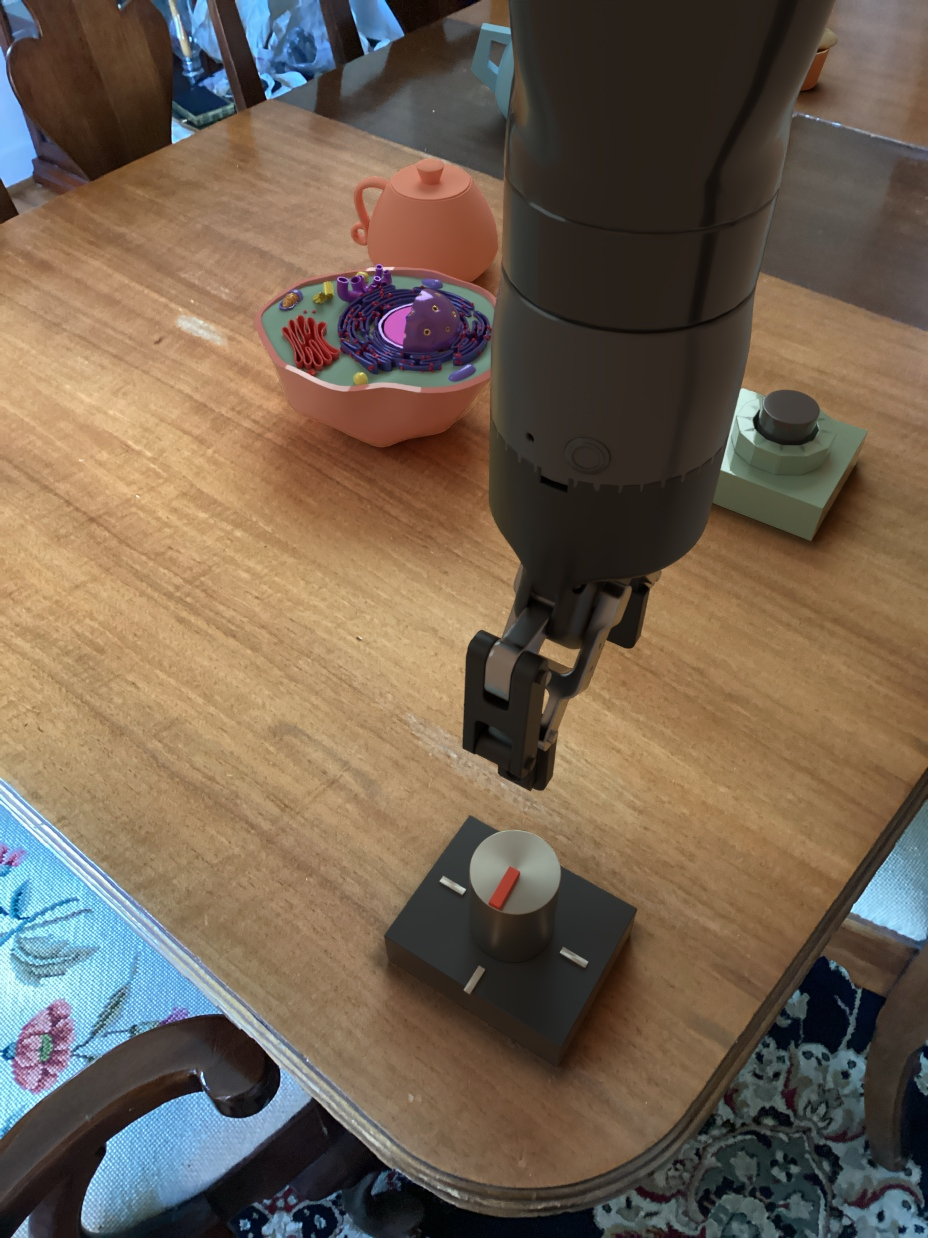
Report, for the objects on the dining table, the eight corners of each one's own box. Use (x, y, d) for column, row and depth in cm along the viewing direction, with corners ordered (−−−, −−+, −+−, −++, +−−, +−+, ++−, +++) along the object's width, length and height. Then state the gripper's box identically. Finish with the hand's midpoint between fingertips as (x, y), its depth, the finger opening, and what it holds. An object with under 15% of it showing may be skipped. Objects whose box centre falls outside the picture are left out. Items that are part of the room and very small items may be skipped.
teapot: (464, 150, 112) (463, 34, 103) (477, 89, 122) (477, -20, 113) (643, 157, 110) (659, 40, 101) (641, 95, 121) (654, -16, 112)
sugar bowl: (484, 311, 91) (485, 202, 83) (336, 295, 92) (323, 187, 85) (507, 243, 98) (510, 138, 91) (370, 230, 100) (362, 125, 93)
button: (820, 423, 72) (828, 400, 71) (801, 453, 70) (808, 430, 69) (768, 405, 74) (774, 382, 72) (747, 434, 72) (753, 411, 70)
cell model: (328, 332, 89) (312, 210, 80) (540, 383, 83) (548, 258, 75) (228, 446, 78) (198, 320, 70) (463, 512, 73) (462, 384, 65)
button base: (856, 463, 77) (875, 410, 73) (811, 541, 71) (830, 489, 67) (733, 420, 80) (746, 367, 76) (682, 491, 75) (693, 438, 71)
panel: (632, 929, 52) (640, 903, 50) (554, 1072, 48) (559, 1050, 45) (471, 838, 56) (471, 810, 54) (385, 962, 51) (380, 937, 49)
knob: (494, 868, 51) (496, 812, 47) (568, 906, 50) (577, 851, 46) (454, 937, 49) (452, 884, 45) (530, 978, 48) (535, 928, 43)
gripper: (602, 260, 36) (569, 568, 48) (381, 488, 28) (409, 788, 40) (803, 319, 34) (714, 629, 46) (623, 588, 26) (574, 875, 38)
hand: (571, 703), depth 43 cm, fingers open, 8 cm apart
